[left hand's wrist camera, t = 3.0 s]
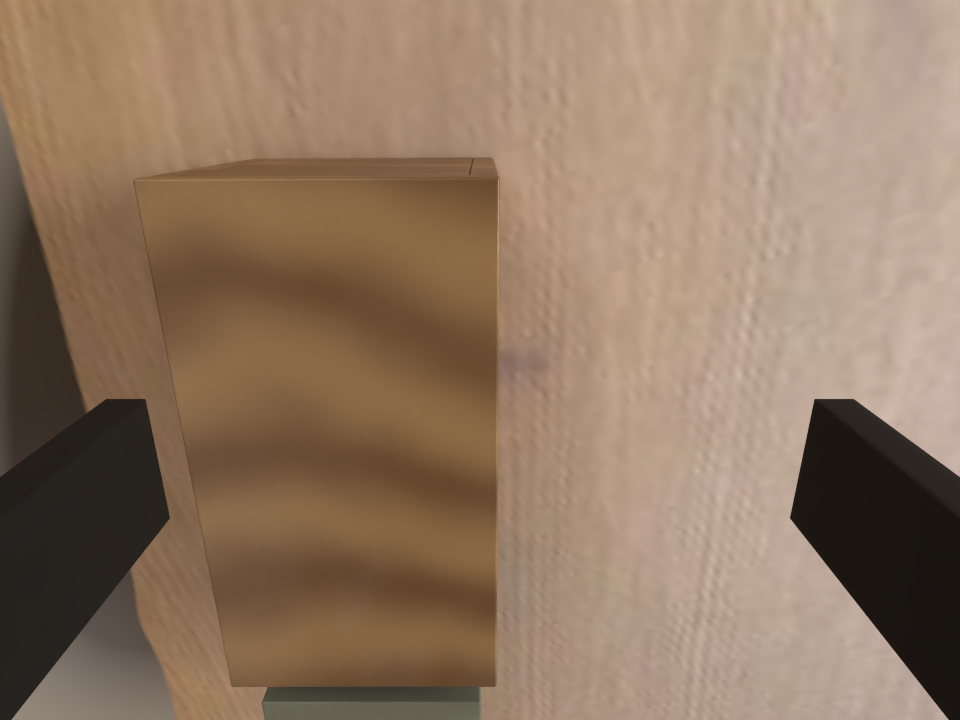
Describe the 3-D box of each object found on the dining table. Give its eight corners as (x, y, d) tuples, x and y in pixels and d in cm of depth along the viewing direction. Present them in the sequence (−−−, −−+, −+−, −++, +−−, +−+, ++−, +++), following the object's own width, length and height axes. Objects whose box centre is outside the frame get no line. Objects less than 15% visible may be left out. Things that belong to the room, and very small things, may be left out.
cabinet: (492, 529, 33) (496, 687, 24) (300, 530, 33) (231, 687, 24) (493, 157, 27) (499, 177, 17) (253, 158, 27) (131, 178, 17)
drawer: (481, 663, 36) (481, 810, 28) (322, 664, 36) (279, 810, 28) (479, 261, 27) (478, 315, 20) (272, 262, 27) (193, 316, 20)
